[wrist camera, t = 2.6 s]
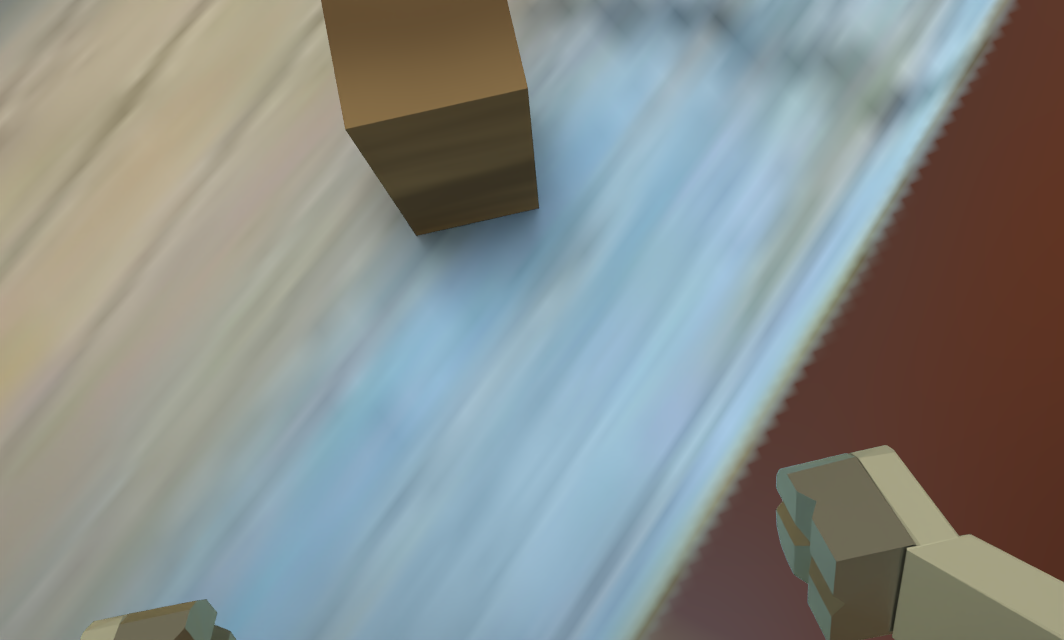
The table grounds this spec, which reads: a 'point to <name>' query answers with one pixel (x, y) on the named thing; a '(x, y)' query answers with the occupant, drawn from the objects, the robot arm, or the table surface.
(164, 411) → the table surface
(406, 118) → the walnut block
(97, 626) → the robot arm
